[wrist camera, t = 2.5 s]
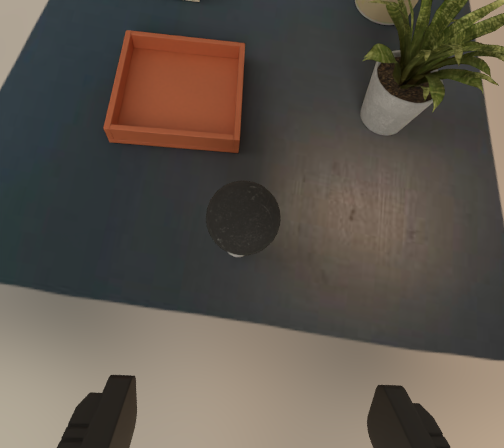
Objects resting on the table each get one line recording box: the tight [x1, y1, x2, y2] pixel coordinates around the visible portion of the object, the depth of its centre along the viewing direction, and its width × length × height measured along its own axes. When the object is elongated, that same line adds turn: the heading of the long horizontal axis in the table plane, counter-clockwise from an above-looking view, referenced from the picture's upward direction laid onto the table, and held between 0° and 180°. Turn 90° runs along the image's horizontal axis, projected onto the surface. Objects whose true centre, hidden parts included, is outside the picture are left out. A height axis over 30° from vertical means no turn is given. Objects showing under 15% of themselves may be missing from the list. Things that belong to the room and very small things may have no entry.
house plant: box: [360, 0, 504, 136], centre depth 33 cm, size 14×14×16 cm
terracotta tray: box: [104, 30, 245, 153], centre depth 39 cm, size 13×13×2 cm
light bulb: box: [206, 181, 280, 257], centre depth 29 cm, size 6×6×10 cm
